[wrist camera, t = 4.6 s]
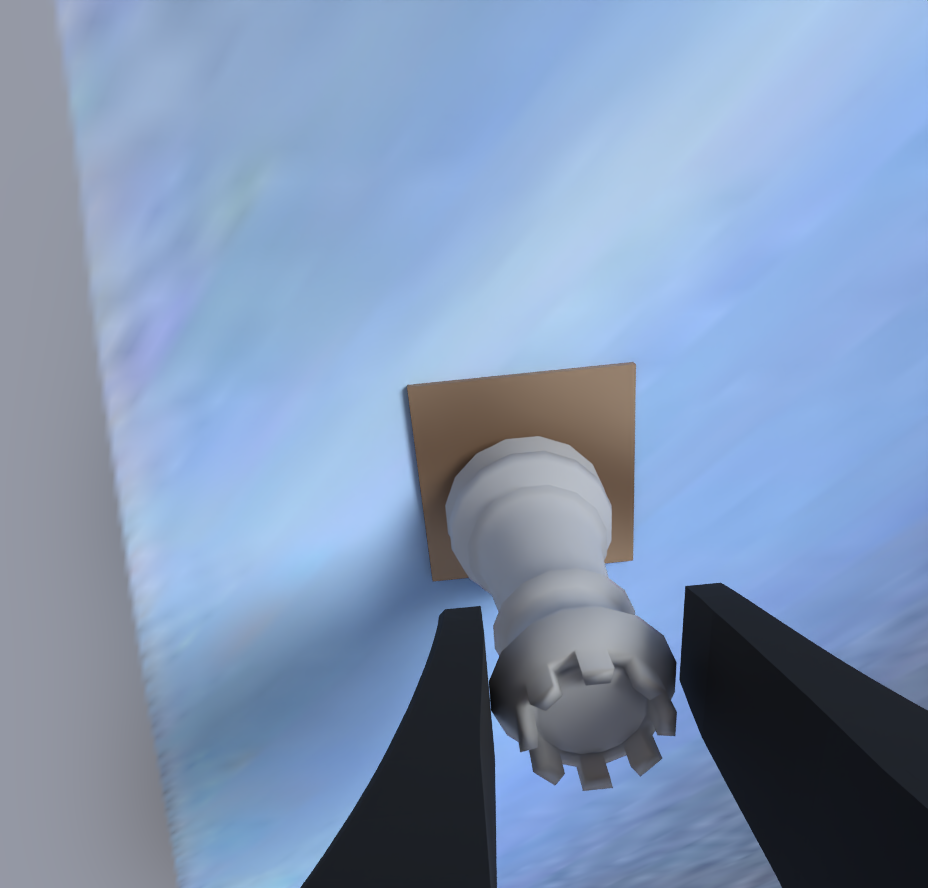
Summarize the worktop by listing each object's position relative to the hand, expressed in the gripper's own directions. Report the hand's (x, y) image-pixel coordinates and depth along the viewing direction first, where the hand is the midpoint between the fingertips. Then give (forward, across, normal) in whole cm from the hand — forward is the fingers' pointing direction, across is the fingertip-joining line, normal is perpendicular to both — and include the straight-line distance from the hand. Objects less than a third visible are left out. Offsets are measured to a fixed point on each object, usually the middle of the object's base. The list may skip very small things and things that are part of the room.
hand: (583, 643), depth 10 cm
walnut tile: (+7, 0, 0) cm, 7 cm away
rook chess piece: (+7, 0, +1) cm, 7 cm away
